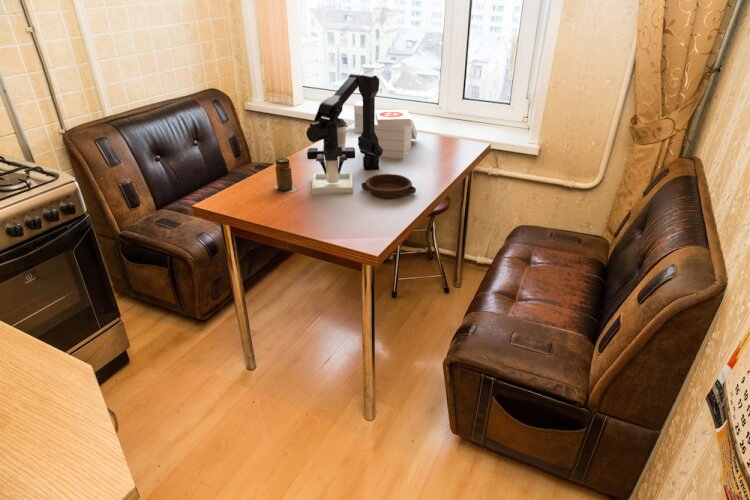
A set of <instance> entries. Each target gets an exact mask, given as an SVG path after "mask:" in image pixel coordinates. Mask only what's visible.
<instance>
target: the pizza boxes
mask: <svg viewBox="0 0 750 500" xmlns="http://www.w3.org/2000/svg"><path fill="white" fill-rule="evenodd" d="M375 120H376V121H375V127H374V131H375V134H376V136H377V137H378V143H379V146H380V147H381V148H382V149H383V153H382V155H381V156H380V157H384V158H391V159H401V158H402V160H405V158H406V156H407V155H408V154H409V152H410V151H411V150H412V140H417V136H418V132H417V129H416V126H415V123H414V121H413V118H411V116H410V114H409V112H408V110H407V109H406V110H375ZM410 149H411V150H410ZM409 150H410V151H409ZM407 153H408V154H407Z"/></svg>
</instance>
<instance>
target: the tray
mask: <svg viewBox="0 0 750 500" xmlns="http://www.w3.org/2000/svg"><path fill="white" fill-rule="evenodd" d="M311 184H312V185H311V194H312V195H340V194H342V195H345V194H348V195H349V194H354V189H353V188H354V187H353V172H340V174H339V181H338V182H337V183H328V182H327V180H326V174H325V172H320V173H319V172H316V173H315V172H314V173H313V177H312V183H311Z"/></svg>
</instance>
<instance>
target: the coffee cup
mask: <svg viewBox="0 0 750 500" xmlns="http://www.w3.org/2000/svg"><path fill="white" fill-rule="evenodd" d="M339 119H340V120H341V122H339V123H337V125H338V147H342V150H345V147H346V141H347V140H346V138H347V137H346V136H347V122H346V121H345V120H344V119H342V118H339Z"/></svg>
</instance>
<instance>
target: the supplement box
mask: <svg viewBox="0 0 750 500" xmlns="http://www.w3.org/2000/svg"><path fill="white" fill-rule="evenodd" d="M353 108H354V109H353V110H354V112H353V113H354V116H353V117H354V134H362V133H363V100H360V101H359V100H357V101H356V102H355V104H354V106H353Z"/></svg>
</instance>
